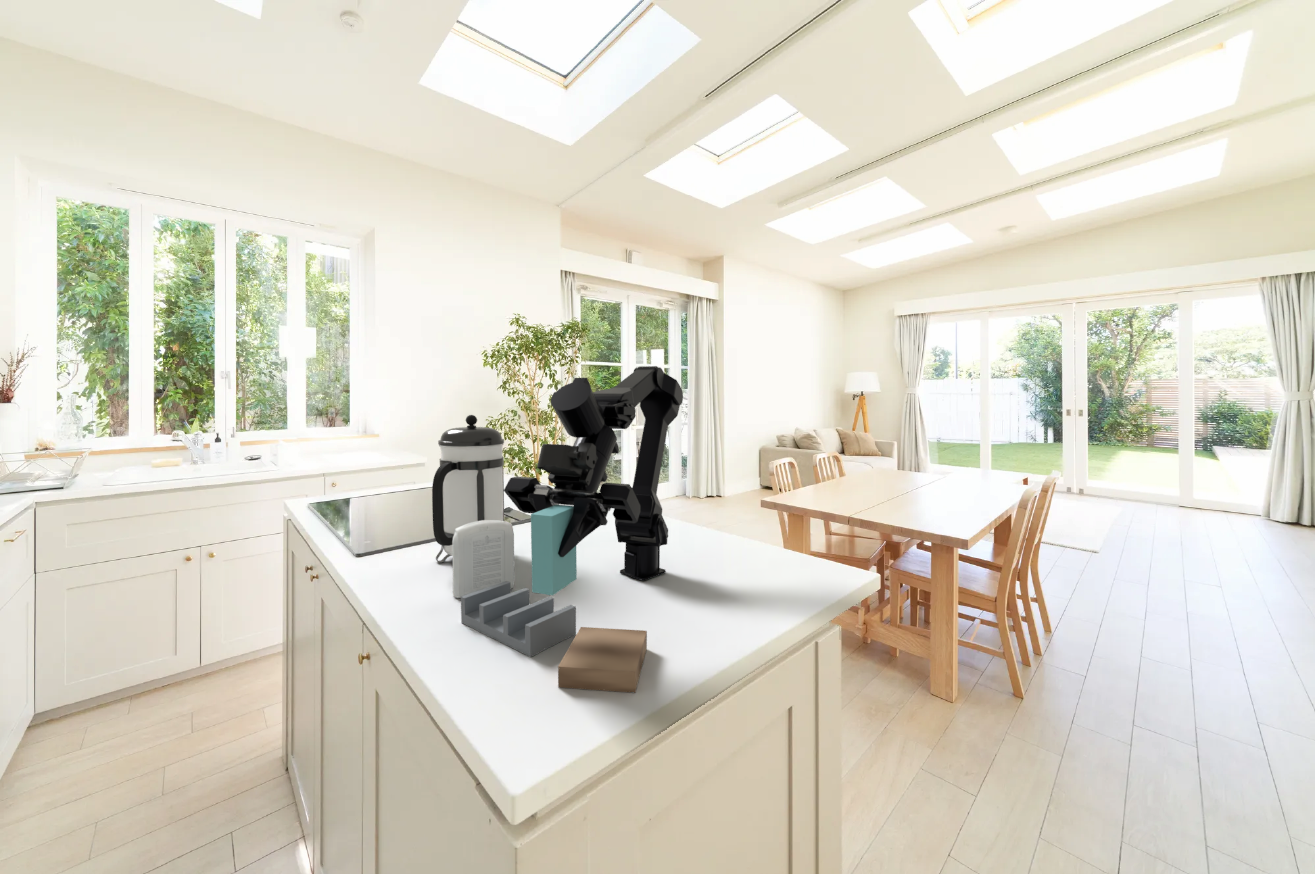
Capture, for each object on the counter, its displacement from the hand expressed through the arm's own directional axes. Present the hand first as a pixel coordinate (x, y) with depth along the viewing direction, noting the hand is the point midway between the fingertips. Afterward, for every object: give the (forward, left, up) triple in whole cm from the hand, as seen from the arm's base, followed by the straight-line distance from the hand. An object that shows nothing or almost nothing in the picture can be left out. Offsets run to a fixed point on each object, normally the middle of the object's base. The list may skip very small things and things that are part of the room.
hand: (548, 554), depth 63 cm
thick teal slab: (-1, -1, -5) cm, 5 cm away
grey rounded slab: (-5, -26, -14) cm, 30 cm away
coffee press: (-12, -45, -14) cm, 48 cm away
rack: (-1, -10, -13) cm, 17 cm away
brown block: (-3, +7, -13) cm, 16 cm away
